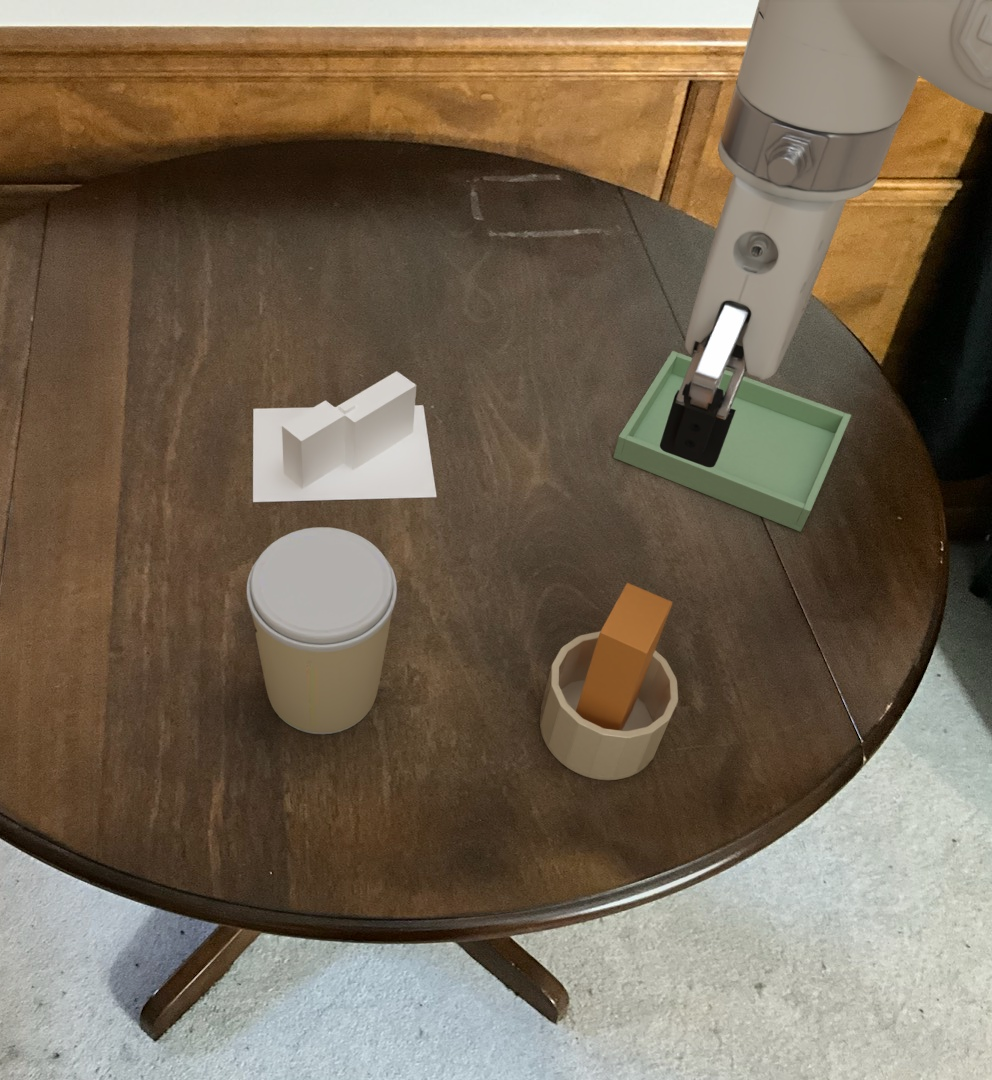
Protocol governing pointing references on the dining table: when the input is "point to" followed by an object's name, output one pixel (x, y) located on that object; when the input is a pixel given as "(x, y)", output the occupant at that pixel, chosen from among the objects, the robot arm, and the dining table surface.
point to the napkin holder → (345, 448)
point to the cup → (590, 743)
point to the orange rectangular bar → (622, 657)
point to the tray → (743, 446)
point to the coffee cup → (321, 626)
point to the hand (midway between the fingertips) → (712, 405)
